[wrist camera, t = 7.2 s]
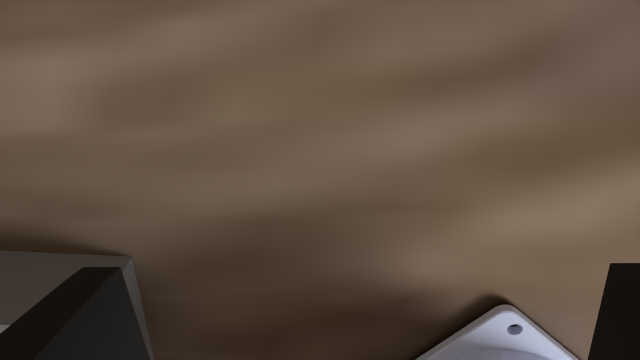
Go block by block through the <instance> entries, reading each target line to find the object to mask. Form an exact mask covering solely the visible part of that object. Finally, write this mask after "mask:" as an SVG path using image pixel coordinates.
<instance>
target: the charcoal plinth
mask: <svg viewBox="0 0 640 360" xmlns="http://www.w3.org/2000/svg"><path fill="white" fill-rule="evenodd" d="M82 267H121V270H122V273H123V276H124V279H125V282H126V285H127V289H128V292H129V295H130V298H131V301H132V304H133V307H134V311H135V314H136V317H137V320H138V323H139V326H140V330H141V333H142V336H143V339H144V342H145V345H146V348H147V352H148V355H149V358H150V360H154V356H153V352H152V347H151V343H150V338H149V333H148V329H147V324H146V320H145V315H144V310H143V306H142V301H141V297H140V292H139V287H138V283H137V278H136V274H135V269H134V264H133V260H132V256H113V255H91V254H69V253H47V252H25V251H4V250H0V333H1V332H3V331H4V330H5V329H6V328H8V327H9V326H10V325H11V324H12V323H14V322H15V321H16V320H17V319H19V318H20V317H21V316H22V315H23V314H25V313H26V312H27V311H28V310H29V309H31V308H32V307H33V306H34V305H35V304H37V303H38V302H39V301H40V300H42V299H43V298H44V297H45V296H46V295H48V294H49V293H50V292H51V291H53V290H54V289H55V288H56V287H58V286H59V285H60V284H61V283H63V282H64V281H65V280H66V279H68V278H69V277H70V276H72V275H73V274H74V273H76V272H77V271H78V270H80V269H81V268H82Z"/></svg>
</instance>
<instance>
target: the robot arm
mask: <svg viewBox="0 0 640 360" xmlns="http://www.w3.org/2000/svg"><path fill="white" fill-rule="evenodd" d="M513 324H518V325H517V326H514V327H509V326H510V325H513ZM0 360H150V358H149V355H148V352H147V348H146V345H145V342H144V339H143V336H142V333H141V330H140V326H139V323H138V320H137V317H136V314H135V311H134V307H133V304H132V301H131V298H130V295H129V292H128V289H127V285H126V282H125V279H124V276H123V273H122V270H121V267H82V268H81V269H80V270H78V271H77V272H76V273H74V274H73V275H72V276H70V277H69V278H68V279H66V280H65V281H64V282H63V283H61V284H60V285H59V286H58V287H56V288H55V289H54V290H53V291H51V292H50V293H49V294H48V295H46V296H45V297H44V298H43V299H42V300H40V301H39V302H38V303H37V304H35V305H34V306H33V307H32V308H31V309H29V310H28V311H27V312H26V313H25V314H23V315H22V316H21V317H20V318H19V319H17V320H16V321H15V322H14V323H12V324H11V325H10V326H9V327H8V328H6V329H5V330H4V331H3V332H1V333H0ZM415 360H579V359H577V358H576V357H575V356H574V355H573V354H571V353H570V352H569V351H568V350H566V349H565V348H564V347H563V346H561V345H560V344H559V343H558V342H557V341H555V340H554V339H553V338H552V337H550V336H549V335H548V334H547V333H545V332H544V331H543V330H542V329H541V328H539V327H538V326H537V325H536V324H534V323H533V322H532V321H531V320H530V319H528V318H527V317H526V316H525V315H523V314H522V313H521V312H520V311H518V310H517V309H516V308H515V307H513V306H511V305H499V306H497V307H495V308H493V309H491V310H490V311H488V312H487V313H485V314H484V315H482V316H481V317H479V318H478V319H476V320H475V321H473V322H472V323H470V324H469V325H467V326H466V327H464V328H463V329H461V330H460V331H458V332H456V333H455V334H453V335H452V336H450V337H449V338H447V339H446V340H444V341H443V342H441V343H440V344H438V345H437V346H435V347H434V348H432V349H431V350H429V351H428V352H426V353H425V354H423V355H421V356H420V357H418V358H417V359H415ZM588 360H640V263H610V267H609V271H608V275H607V279H606V284H605V288H604V292H603V296H602V301H601V305H600V309H599V314H598V318H597V322H596V326H595V331H594V335H593V339H592V343H591V348H590V352H589V356H588Z"/></svg>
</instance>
